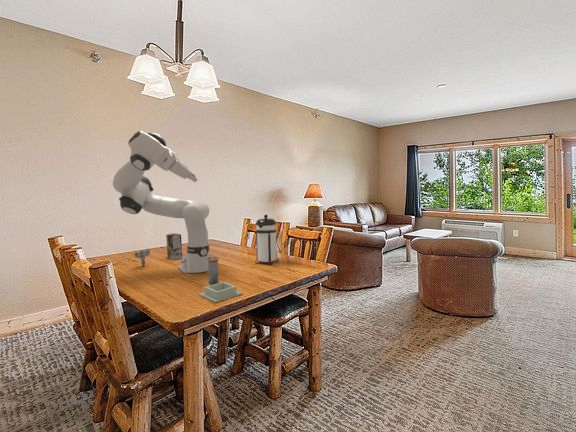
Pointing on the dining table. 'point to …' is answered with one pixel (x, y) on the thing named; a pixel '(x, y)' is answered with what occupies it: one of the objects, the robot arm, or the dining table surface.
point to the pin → (213, 270)
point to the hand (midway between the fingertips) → (195, 179)
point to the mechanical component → (143, 255)
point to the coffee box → (174, 246)
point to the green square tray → (220, 292)
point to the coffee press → (266, 240)
